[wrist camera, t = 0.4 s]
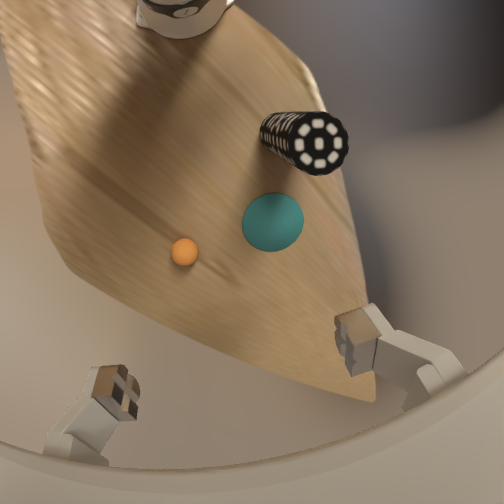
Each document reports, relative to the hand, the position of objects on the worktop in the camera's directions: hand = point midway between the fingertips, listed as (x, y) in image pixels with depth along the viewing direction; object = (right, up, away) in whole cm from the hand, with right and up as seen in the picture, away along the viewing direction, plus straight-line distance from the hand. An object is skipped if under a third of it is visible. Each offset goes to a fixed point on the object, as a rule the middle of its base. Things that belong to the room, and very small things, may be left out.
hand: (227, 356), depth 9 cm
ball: (-13, +4, +45) cm, 47 cm away
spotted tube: (+6, +26, +40) cm, 48 cm away
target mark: (+5, +10, +48) cm, 49 cm away
